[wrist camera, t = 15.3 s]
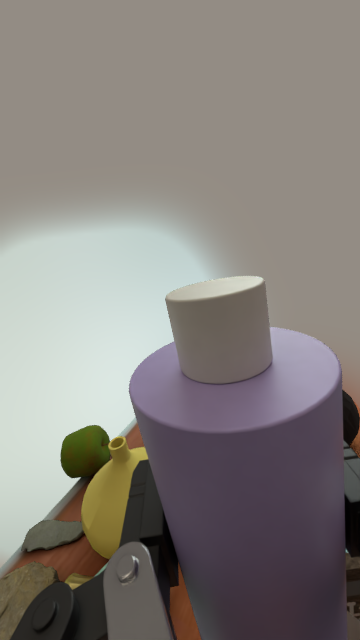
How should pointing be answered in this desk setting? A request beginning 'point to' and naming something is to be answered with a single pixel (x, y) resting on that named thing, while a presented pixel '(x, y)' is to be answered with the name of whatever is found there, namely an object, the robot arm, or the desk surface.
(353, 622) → the stand
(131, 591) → the robot arm
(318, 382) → the detergent bottle
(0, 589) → the stone slab
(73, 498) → the desk surface
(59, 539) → the stone
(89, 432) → the apple
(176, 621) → the desk surface
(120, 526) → the vase
